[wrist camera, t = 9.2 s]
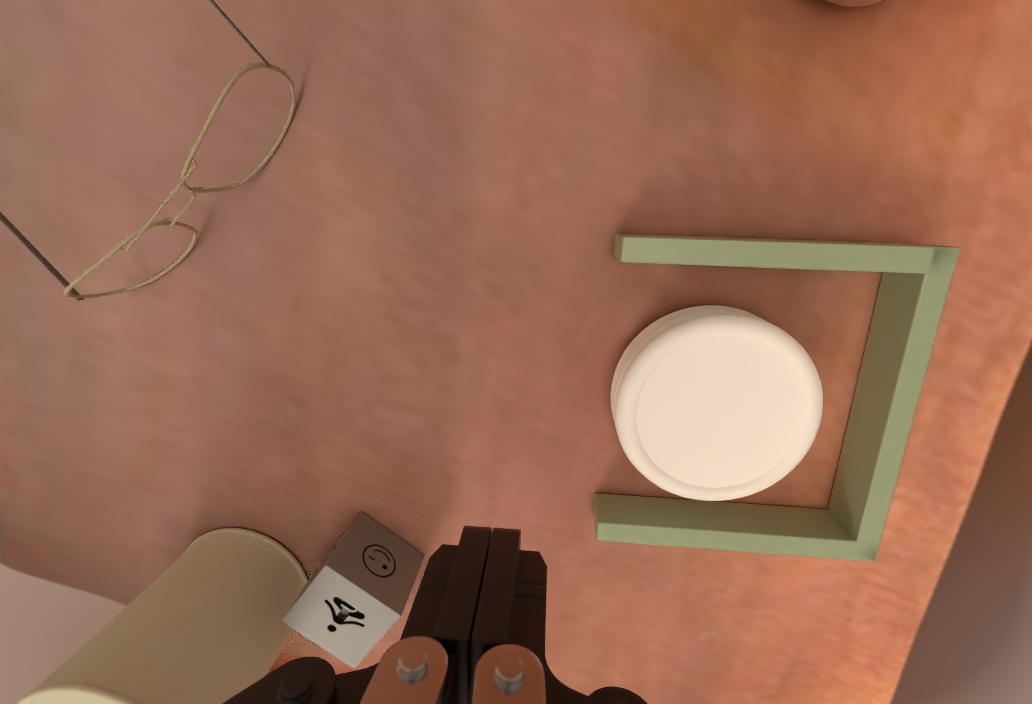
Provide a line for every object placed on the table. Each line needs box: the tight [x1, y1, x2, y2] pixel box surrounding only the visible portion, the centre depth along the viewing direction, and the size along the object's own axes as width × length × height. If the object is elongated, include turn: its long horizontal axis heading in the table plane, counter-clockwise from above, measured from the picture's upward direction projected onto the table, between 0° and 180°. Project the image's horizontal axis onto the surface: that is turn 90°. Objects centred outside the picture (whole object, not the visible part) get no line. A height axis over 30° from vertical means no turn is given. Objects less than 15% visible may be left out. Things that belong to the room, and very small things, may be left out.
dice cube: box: [281, 512, 425, 668], centre depth 30 cm, size 5×5×5 cm
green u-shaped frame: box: [593, 234, 960, 562], centre depth 26 cm, size 16×15×3 cm
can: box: [17, 528, 308, 704], centre depth 28 cm, size 9×9×12 cm
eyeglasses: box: [0, 0, 295, 300], centre depth 23 cm, size 16×15×5 cm
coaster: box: [611, 305, 823, 501], centre depth 26 cm, size 10×10×4 cm
